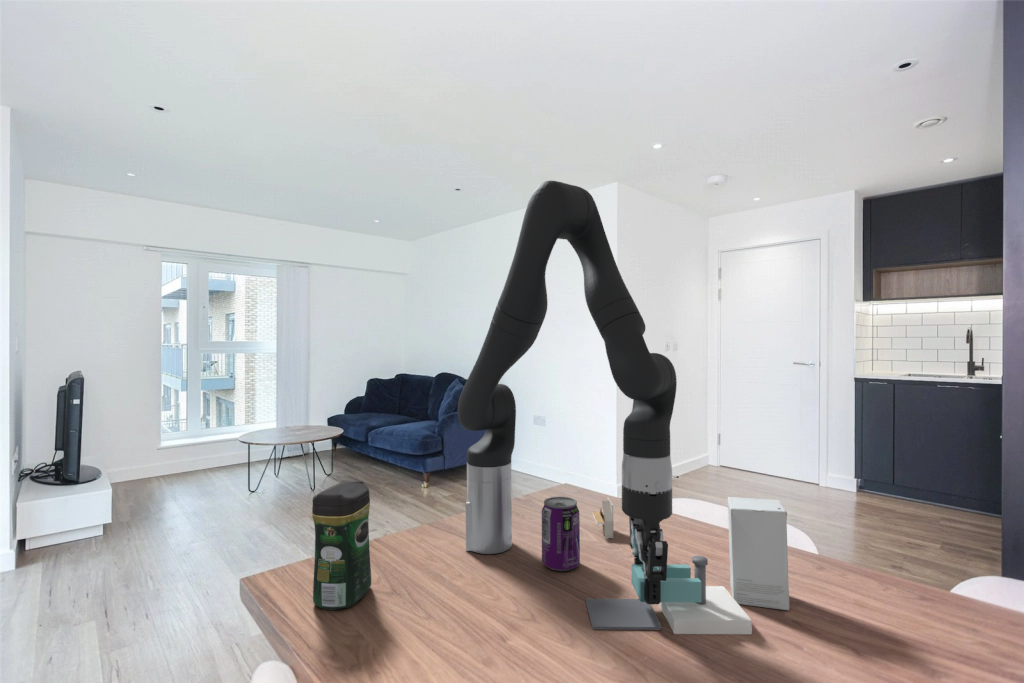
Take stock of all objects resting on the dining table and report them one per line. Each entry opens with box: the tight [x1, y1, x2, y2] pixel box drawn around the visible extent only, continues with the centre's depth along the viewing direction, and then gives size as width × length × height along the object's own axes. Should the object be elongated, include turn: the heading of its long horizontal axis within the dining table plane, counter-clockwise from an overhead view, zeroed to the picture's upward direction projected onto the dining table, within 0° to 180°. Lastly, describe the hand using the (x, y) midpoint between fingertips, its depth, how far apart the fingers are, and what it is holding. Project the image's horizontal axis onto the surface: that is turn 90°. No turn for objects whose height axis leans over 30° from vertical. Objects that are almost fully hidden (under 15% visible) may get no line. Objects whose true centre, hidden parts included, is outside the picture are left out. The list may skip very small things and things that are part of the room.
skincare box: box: [727, 496, 790, 611], centre depth 81 cm, size 8×7×16 cm
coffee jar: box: [311, 479, 372, 611], centre depth 82 cm, size 10×8×19 cm
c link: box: [631, 563, 701, 602], centre depth 76 cm, size 9×6×3 cm, turn 89°
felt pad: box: [585, 598, 663, 631], centre depth 76 cm, size 10×8×1 cm
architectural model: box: [592, 497, 614, 539], centre depth 109 cm, size 3×7×8 cm, turn 179°
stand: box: [658, 555, 753, 635], centre depth 76 cm, size 11×10×9 cm
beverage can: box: [541, 496, 581, 572], centre depth 93 cm, size 7×7×12 cm
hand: (646, 591), depth 76 cm, fingers closed on c link, 5 cm apart
